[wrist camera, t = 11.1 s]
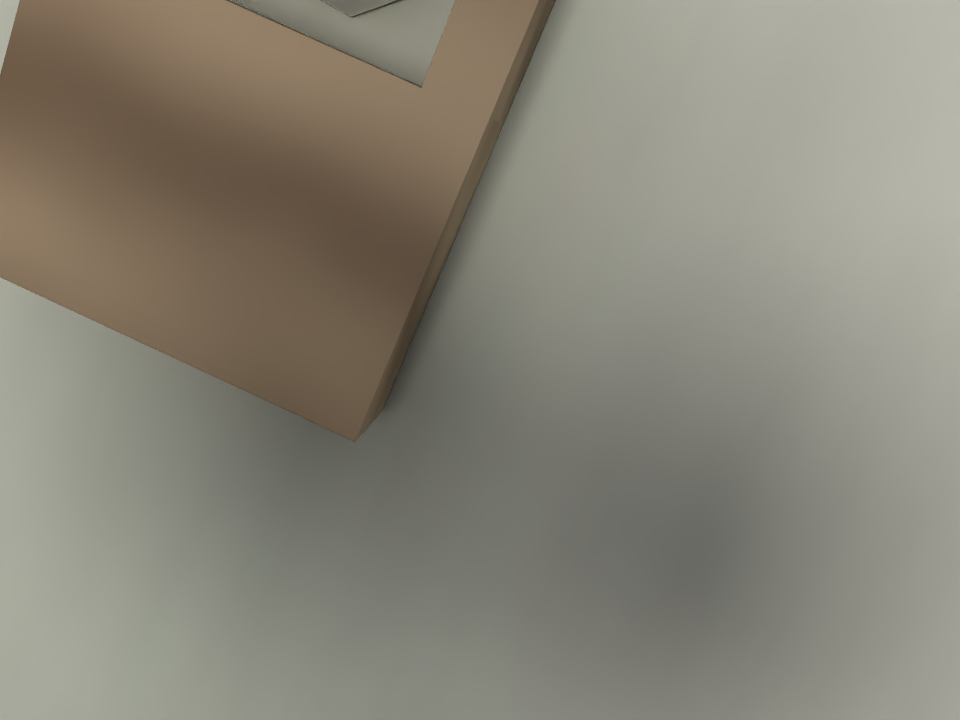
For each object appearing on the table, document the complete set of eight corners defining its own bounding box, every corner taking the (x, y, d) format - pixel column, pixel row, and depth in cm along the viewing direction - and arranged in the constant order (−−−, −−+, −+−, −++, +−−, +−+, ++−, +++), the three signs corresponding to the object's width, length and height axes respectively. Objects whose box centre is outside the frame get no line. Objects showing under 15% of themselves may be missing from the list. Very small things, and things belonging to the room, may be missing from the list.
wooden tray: (382, 410, 22) (354, 441, 19) (23, 244, 22) (-48, 255, 20) (672, -278, 18) (683, -347, 15) (226, -469, 18) (169, -566, 16)
